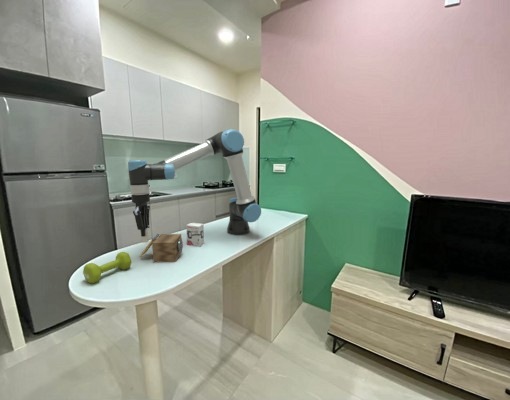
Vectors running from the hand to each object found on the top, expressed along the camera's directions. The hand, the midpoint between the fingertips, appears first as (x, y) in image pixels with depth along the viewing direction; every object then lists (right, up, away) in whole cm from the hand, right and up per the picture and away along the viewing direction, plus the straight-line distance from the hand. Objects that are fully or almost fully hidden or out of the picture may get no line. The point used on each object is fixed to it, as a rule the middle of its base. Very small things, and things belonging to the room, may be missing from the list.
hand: (145, 241), depth 107 cm
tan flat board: (+2, -2, 0) cm, 3 cm away
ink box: (+20, -5, +18) cm, 27 cm away
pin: (+11, -5, +1) cm, 12 cm away
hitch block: (+11, -8, +2) cm, 13 cm away
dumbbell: (-7, -11, -15) cm, 20 cm away
